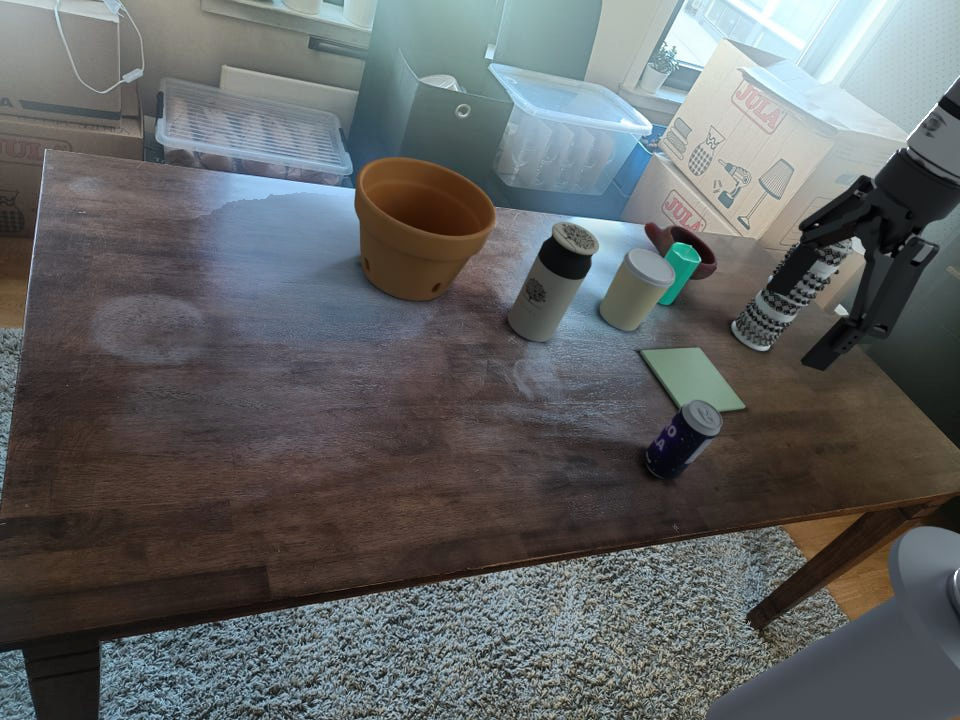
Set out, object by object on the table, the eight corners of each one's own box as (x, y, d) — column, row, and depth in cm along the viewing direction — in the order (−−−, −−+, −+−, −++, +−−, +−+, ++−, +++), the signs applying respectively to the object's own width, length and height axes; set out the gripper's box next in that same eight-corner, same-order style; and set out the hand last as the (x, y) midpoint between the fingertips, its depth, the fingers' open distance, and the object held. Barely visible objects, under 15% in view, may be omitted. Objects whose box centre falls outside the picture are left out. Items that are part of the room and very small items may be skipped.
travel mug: (538, 308, 107) (584, 220, 95) (560, 341, 103) (611, 253, 91) (499, 310, 103) (541, 219, 91) (520, 345, 99) (568, 253, 87)
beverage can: (665, 449, 93) (710, 396, 85) (684, 481, 89) (733, 430, 81) (634, 451, 90) (678, 397, 82) (652, 484, 87) (700, 431, 79)
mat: (743, 408, 106) (746, 406, 106) (684, 416, 100) (686, 413, 99) (697, 349, 114) (699, 347, 114) (639, 352, 108) (641, 350, 107)
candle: (648, 280, 126) (680, 231, 119) (675, 296, 126) (708, 247, 118) (641, 293, 122) (673, 243, 114) (668, 309, 121) (703, 260, 113)
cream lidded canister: (647, 317, 116) (681, 267, 108) (634, 342, 109) (670, 290, 102) (603, 292, 118) (634, 240, 110) (588, 314, 111) (620, 261, 103)
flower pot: (314, 243, 99) (329, 159, 90) (418, 225, 113) (441, 150, 103) (388, 330, 91) (413, 248, 81) (491, 300, 104) (523, 226, 95)
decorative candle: (740, 314, 129) (823, 212, 113) (778, 343, 126) (868, 242, 109) (721, 327, 123) (806, 221, 107) (760, 358, 120) (853, 253, 103)
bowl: (681, 252, 140) (701, 222, 135) (714, 290, 133) (736, 260, 128) (626, 249, 133) (644, 217, 127) (657, 289, 125) (679, 257, 120)
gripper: (854, 102, 68) (738, 257, 82) (974, 220, 50) (798, 393, 64) (911, 126, 69) (788, 274, 83) (1048, 249, 51) (860, 413, 65)
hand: (792, 326), depth 74 cm, fingers open, 13 cm apart
